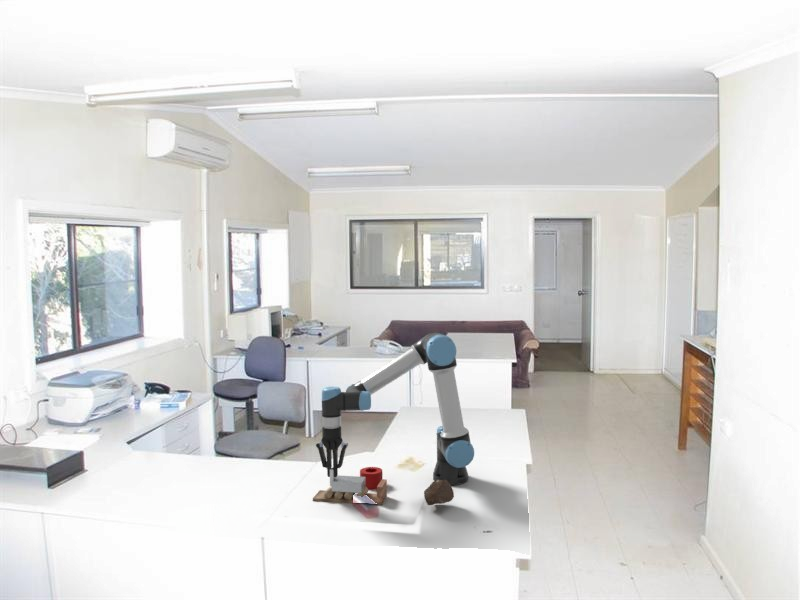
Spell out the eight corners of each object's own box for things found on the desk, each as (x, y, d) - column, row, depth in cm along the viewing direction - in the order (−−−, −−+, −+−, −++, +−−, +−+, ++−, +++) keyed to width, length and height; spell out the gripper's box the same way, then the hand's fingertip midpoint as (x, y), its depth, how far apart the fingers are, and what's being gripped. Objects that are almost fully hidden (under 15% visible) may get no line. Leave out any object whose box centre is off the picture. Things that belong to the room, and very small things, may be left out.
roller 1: (332, 482, 250) (338, 486, 249) (328, 489, 250) (335, 492, 250) (326, 489, 242) (332, 493, 241) (322, 496, 242) (329, 500, 242)
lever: (385, 488, 256) (385, 472, 256) (363, 491, 253) (363, 475, 253) (373, 474, 273) (373, 460, 273) (353, 477, 270) (352, 462, 270)
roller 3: (364, 494, 247) (360, 489, 247) (369, 490, 247) (365, 485, 247) (359, 502, 239) (354, 496, 240) (364, 498, 239) (360, 492, 239)
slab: (365, 486, 246) (365, 476, 246) (361, 493, 240) (361, 482, 239) (336, 485, 249) (336, 475, 248) (331, 491, 242) (331, 481, 242)
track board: (386, 496, 246) (386, 479, 246) (382, 505, 237) (381, 487, 237) (319, 492, 251) (319, 475, 251) (312, 500, 242) (312, 483, 242)
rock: (440, 512, 229) (440, 486, 229) (416, 507, 235) (416, 481, 234) (455, 502, 240) (455, 476, 239) (432, 497, 245) (432, 472, 245)
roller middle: (343, 483, 249) (348, 488, 248) (338, 488, 249) (344, 493, 249) (337, 490, 241) (343, 495, 240) (332, 496, 241) (338, 501, 241)
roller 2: (352, 484, 248) (358, 488, 248) (348, 489, 248) (353, 494, 248) (347, 491, 240) (353, 496, 240) (342, 496, 241) (348, 501, 240)
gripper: (350, 424, 247) (350, 482, 248) (319, 423, 249) (320, 480, 250) (344, 429, 239) (345, 488, 240) (312, 428, 242) (314, 487, 243)
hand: (332, 484), depth 245 cm, fingers closed
